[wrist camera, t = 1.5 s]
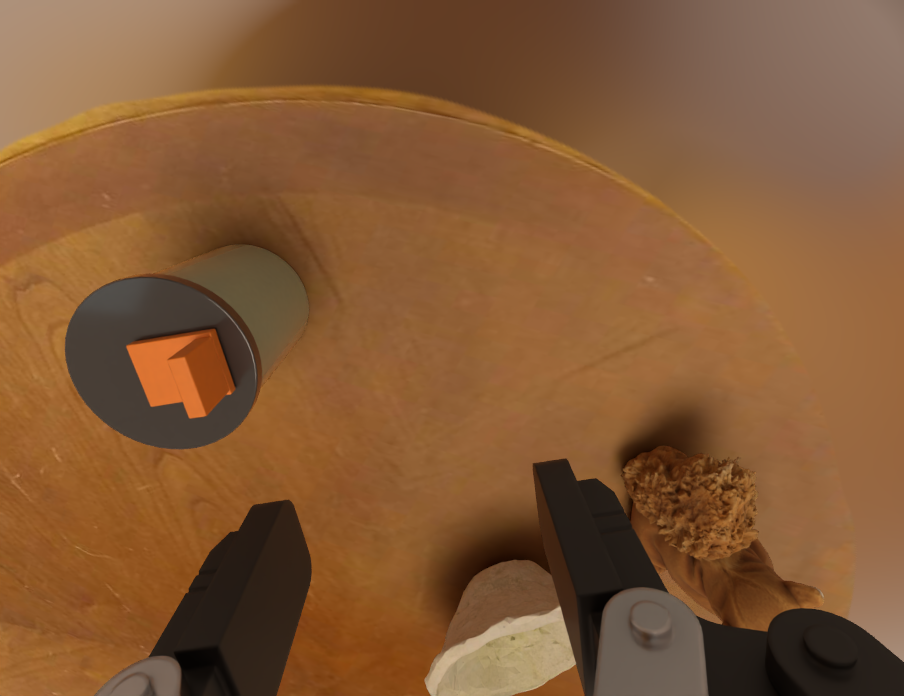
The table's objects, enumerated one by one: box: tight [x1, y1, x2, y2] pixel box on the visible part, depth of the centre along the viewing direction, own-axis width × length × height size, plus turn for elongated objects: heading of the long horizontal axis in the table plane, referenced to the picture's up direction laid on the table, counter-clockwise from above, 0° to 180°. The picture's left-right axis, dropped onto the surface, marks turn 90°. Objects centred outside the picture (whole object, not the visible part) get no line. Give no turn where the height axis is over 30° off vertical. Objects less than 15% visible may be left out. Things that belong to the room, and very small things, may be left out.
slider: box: [126, 329, 235, 419], centre depth 23 cm, size 4×3×3 cm
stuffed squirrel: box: [621, 445, 824, 632], centre depth 35 cm, size 10×14×13 cm
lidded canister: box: [65, 244, 309, 449], centre depth 30 cm, size 9×9×12 cm
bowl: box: [425, 559, 576, 696], centre depth 40 cm, size 15×14×10 cm
